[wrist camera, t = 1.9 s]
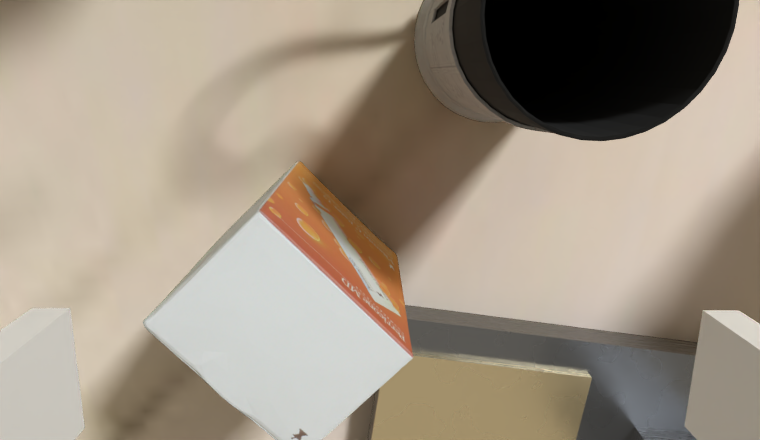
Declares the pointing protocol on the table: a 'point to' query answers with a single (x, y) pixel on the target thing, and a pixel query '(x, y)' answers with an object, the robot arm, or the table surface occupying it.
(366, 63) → the table surface
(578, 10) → the glass holder
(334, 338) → the small box
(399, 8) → the table surface
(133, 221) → the table surface
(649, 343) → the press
